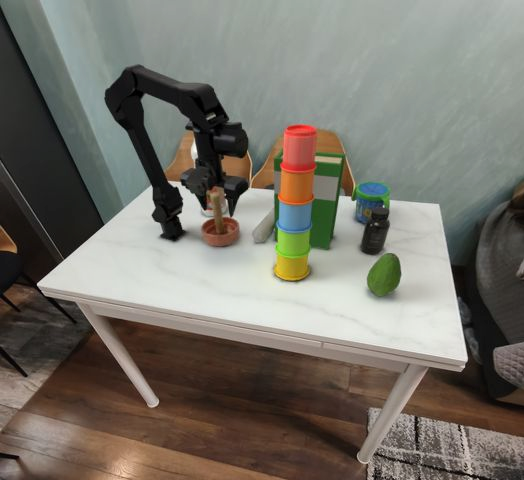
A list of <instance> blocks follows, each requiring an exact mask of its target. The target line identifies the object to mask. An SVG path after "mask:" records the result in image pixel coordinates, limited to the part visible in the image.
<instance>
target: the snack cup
mask: <svg viewBox="0 0 524 480" xmlns="http://www.w3.org/2000/svg"><path fill="white" fill-rule="evenodd" d="M390 194H391V188H390V186H388V185H387V184H384V183H382V182H379V181H364V182H361V183H359V184H357V185H355V187H354V189H353V190H352V194H351V201H352V202H355V215H354V216H355V217H354V218H355V219H356V220H357V221H358V222H360V223H362V224H365V223H366V220H367V219H368V218H370V217H371V213H372V209H373V208H375V207H385V208H387V209H389V210H390V209H391V201H390Z"/></svg>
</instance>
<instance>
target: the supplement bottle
mask: <svg viewBox="0 0 524 480" xmlns="http://www.w3.org/2000/svg"><path fill="white" fill-rule="evenodd" d="M390 213H391V211H390V208H389V209H387V208H385V207H384V206H383V207H375V208H373V209H372V213H371V217H370V218H368V219H367V220H366V223H364V227H363V231H362V232H363V233H362V238H361V242H360V250H361V251H362V252H363V253H365V254H367V255H377V254H380V253H382V251H383V249H384V247H385V245H386V241H387V237H388V233H389V230H390V227H391V222H390V219H389V217H390Z"/></svg>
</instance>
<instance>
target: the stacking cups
mask: <svg viewBox="0 0 524 480" xmlns="http://www.w3.org/2000/svg"><path fill="white" fill-rule="evenodd" d="M317 139H318V132H317V128H316V127H315V126H313V125H309V124H293V125H288V126H286V128H285V131H284V132H283V147H282V149H283V162H282V163H281V164H280V167H281V169H282V171H281V192H280V193H279V195H278V199H279V200H280V204H279V220H278V221H277V227H278V241H277V243H276V244H275V246H274V250H275V252H276V264H275V266H274V268H273V270H274V274H275V275H276V277H278V278H280V279H281V280H284V281H293V282H295V281H300V280H302V279H305V278H306V277H308V275H309V274H310V266H309V253H311V250H312V247H311V246H310V245H309V236H310V229H311V227H312V222H311V208H312V201H313V200H314V194H313V193H312V191H313V179H314V170H315V169H316V164H315V152H317Z"/></svg>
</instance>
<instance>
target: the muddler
mask: <svg viewBox="0 0 524 480" xmlns="http://www.w3.org/2000/svg"><path fill="white" fill-rule="evenodd" d="M210 197H211V203H212V209H213V215H214V216H213V218H214V220H215V226H216V230H215V231H214V235H225V234H228V232H227V230H226V229H225V228H224V221H223V217H224V213H223V214H222V208H221V201H220V194H219V193H217V192H214V193H211V194H210Z"/></svg>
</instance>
